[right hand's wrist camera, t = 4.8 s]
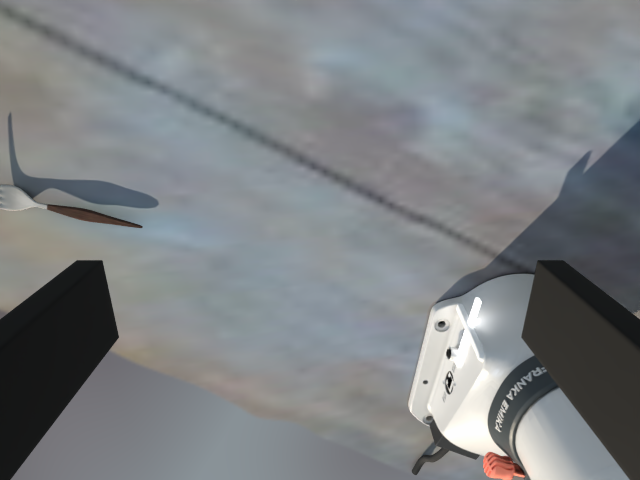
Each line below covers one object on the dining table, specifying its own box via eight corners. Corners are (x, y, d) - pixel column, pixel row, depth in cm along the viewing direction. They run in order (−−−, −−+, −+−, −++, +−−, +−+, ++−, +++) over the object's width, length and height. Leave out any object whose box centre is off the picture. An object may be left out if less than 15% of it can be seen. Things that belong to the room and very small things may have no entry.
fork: (143, 237, 42) (135, 244, 40) (-21, 202, 41) (-38, 208, 39) (145, 213, 41) (137, 220, 39) (-23, 177, 40) (-40, 182, 38)
